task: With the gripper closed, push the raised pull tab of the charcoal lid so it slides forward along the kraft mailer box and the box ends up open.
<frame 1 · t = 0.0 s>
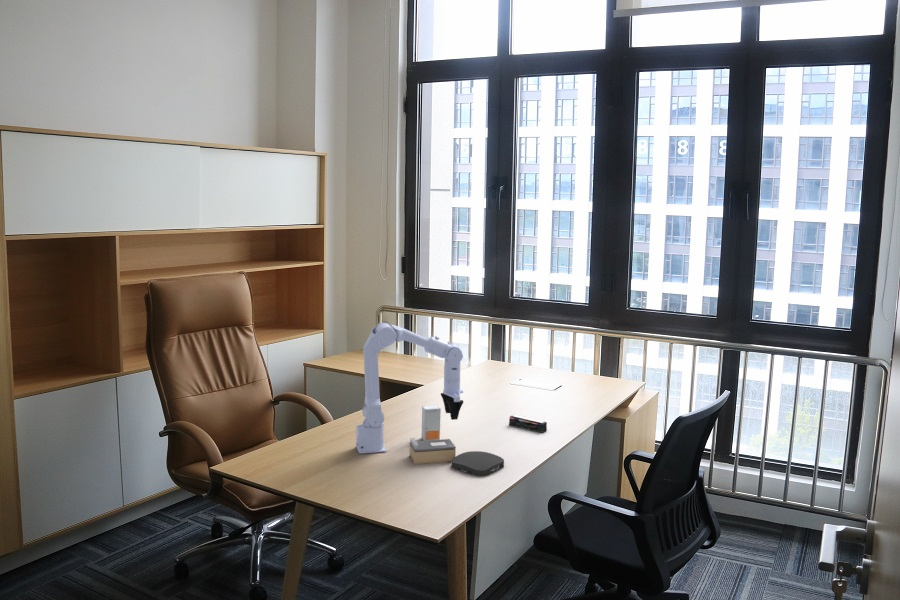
hand: (451, 416, 274), 10 cm above the table, tool pointing down, fingers open, 7 cm apart
media streaming box: (477, 467, 254), on the table
lid: (432, 443, 260), point 5 cm above the table, slide at 0.0 cm
skincare box: (430, 439, 280), on the table
mailer box: (432, 458, 260), on the table
graphics card: (524, 428, 296), on the table
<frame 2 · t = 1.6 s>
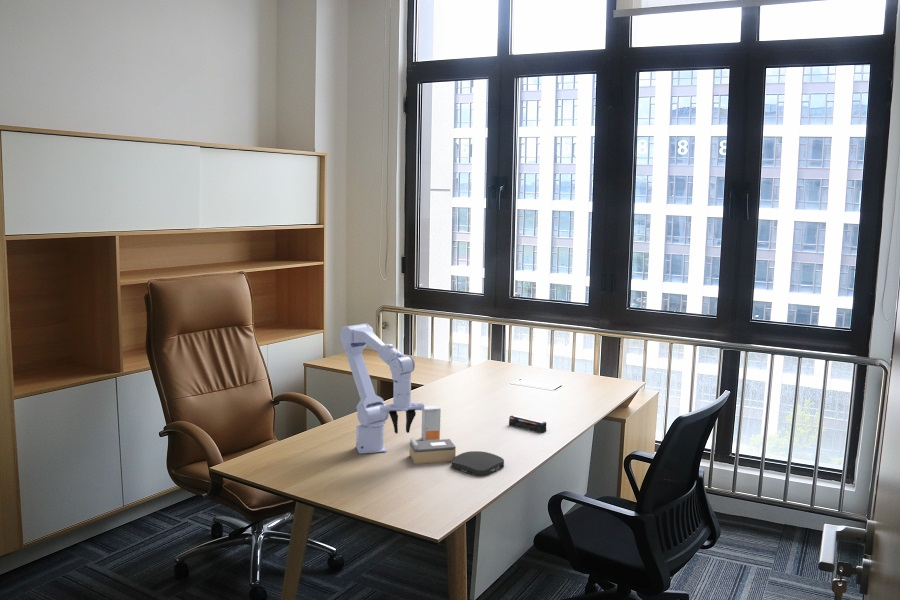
hand: (401, 432, 256), 10 cm above the table, tool pointing down, fingers open, 3 cm apart
nothing on the table moved.
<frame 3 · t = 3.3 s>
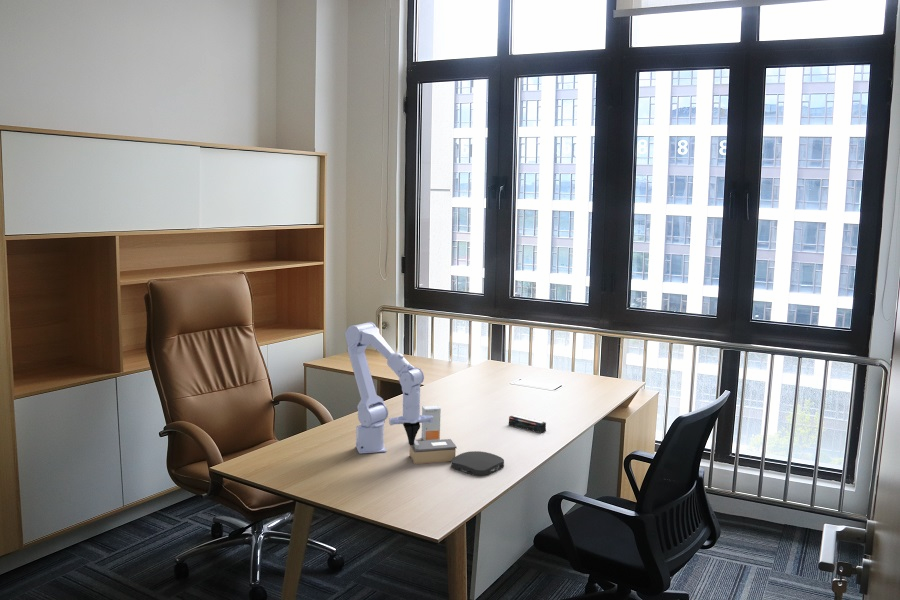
hand: (411, 444, 258), 6 cm above the table, tool pointing down, fingers closed
lid: (433, 443, 260), point 5 cm above the table, slide at 0.3 cm, touching gripper
everything else where it was.
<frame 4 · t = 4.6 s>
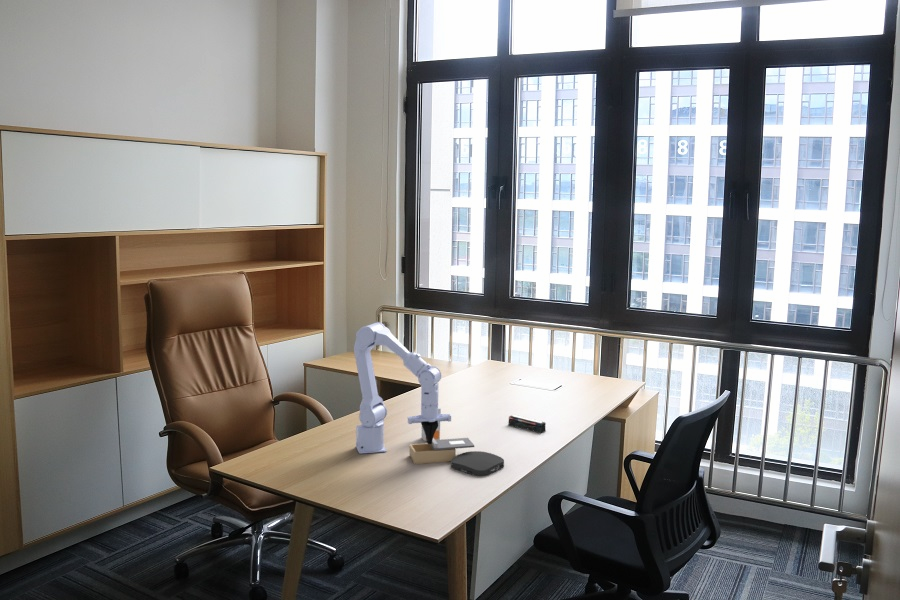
hand: (429, 442, 259), 6 cm above the table, tool pointing down, fingers closed
lid: (451, 441, 261), point 5 cm above the table, slide at 6.6 cm, touching gripper
everything else where it was.
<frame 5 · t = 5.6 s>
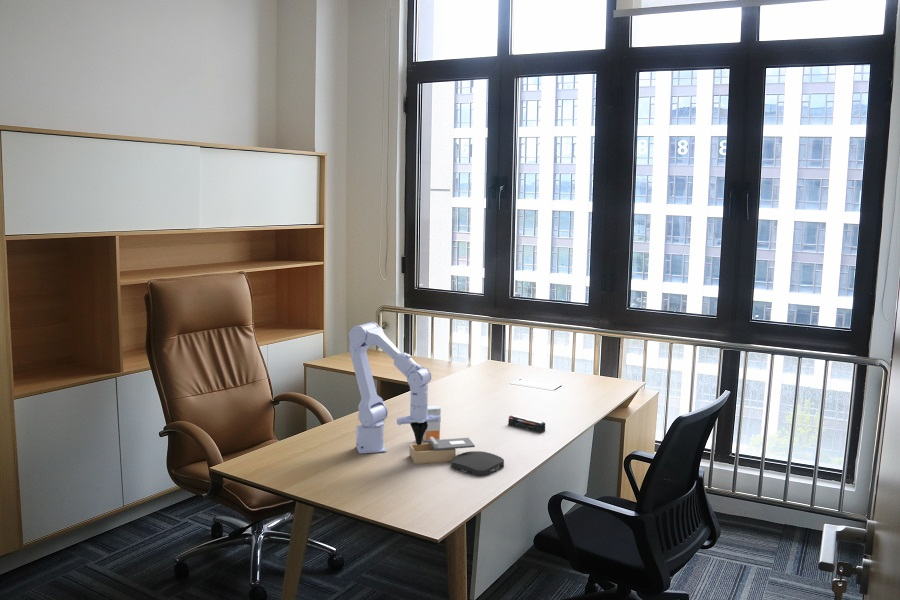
hand: (418, 443, 258), 5 cm above the table, tool pointing down, fingers closed
lid: (451, 441, 261), point 5 cm above the table, slide at 6.7 cm
everything else where it was.
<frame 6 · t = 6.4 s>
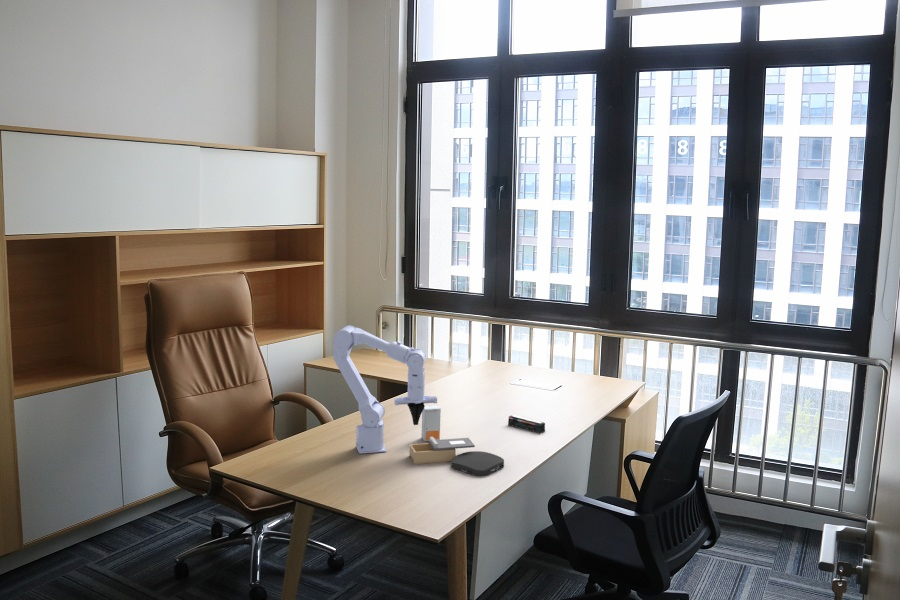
hand: (415, 424, 265), 10 cm above the table, tool pointing down, fingers closed
nothing on the table moved.
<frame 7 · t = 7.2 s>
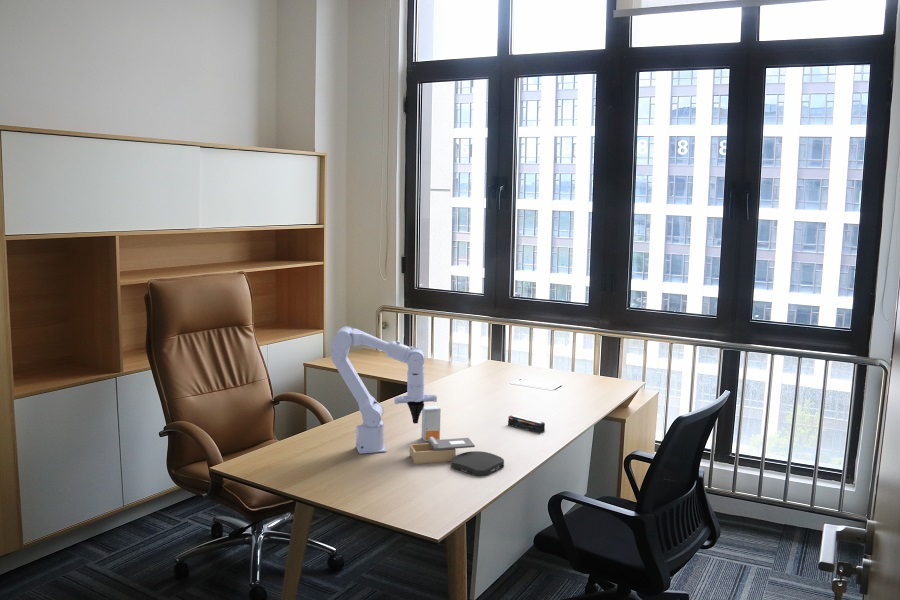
hand: (415, 422, 266), 10 cm above the table, tool pointing down, fingers closed
nothing on the table moved.
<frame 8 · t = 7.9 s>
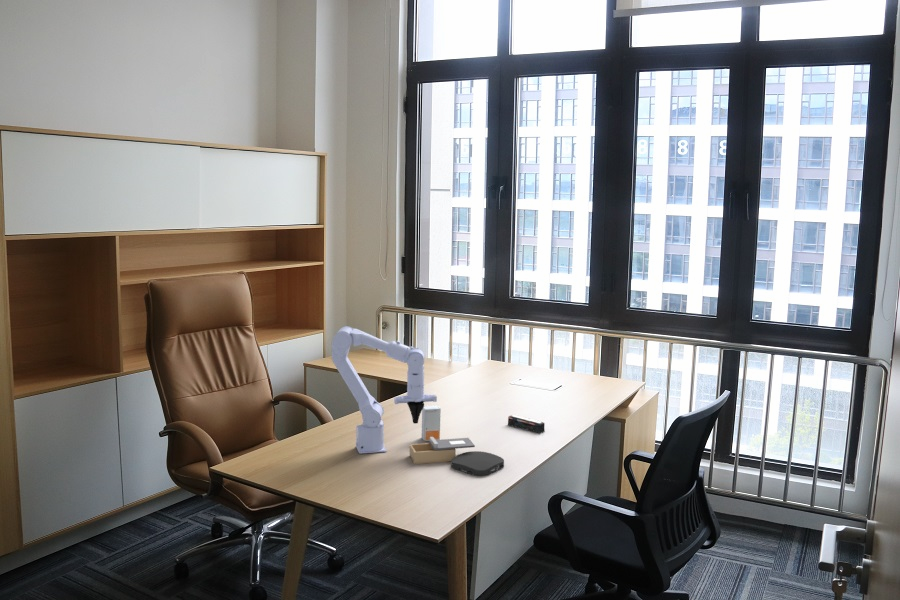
hand: (415, 422, 266), 10 cm above the table, tool pointing down, fingers closed
nothing on the table moved.
at the end: lid slide at 6.7 cm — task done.
